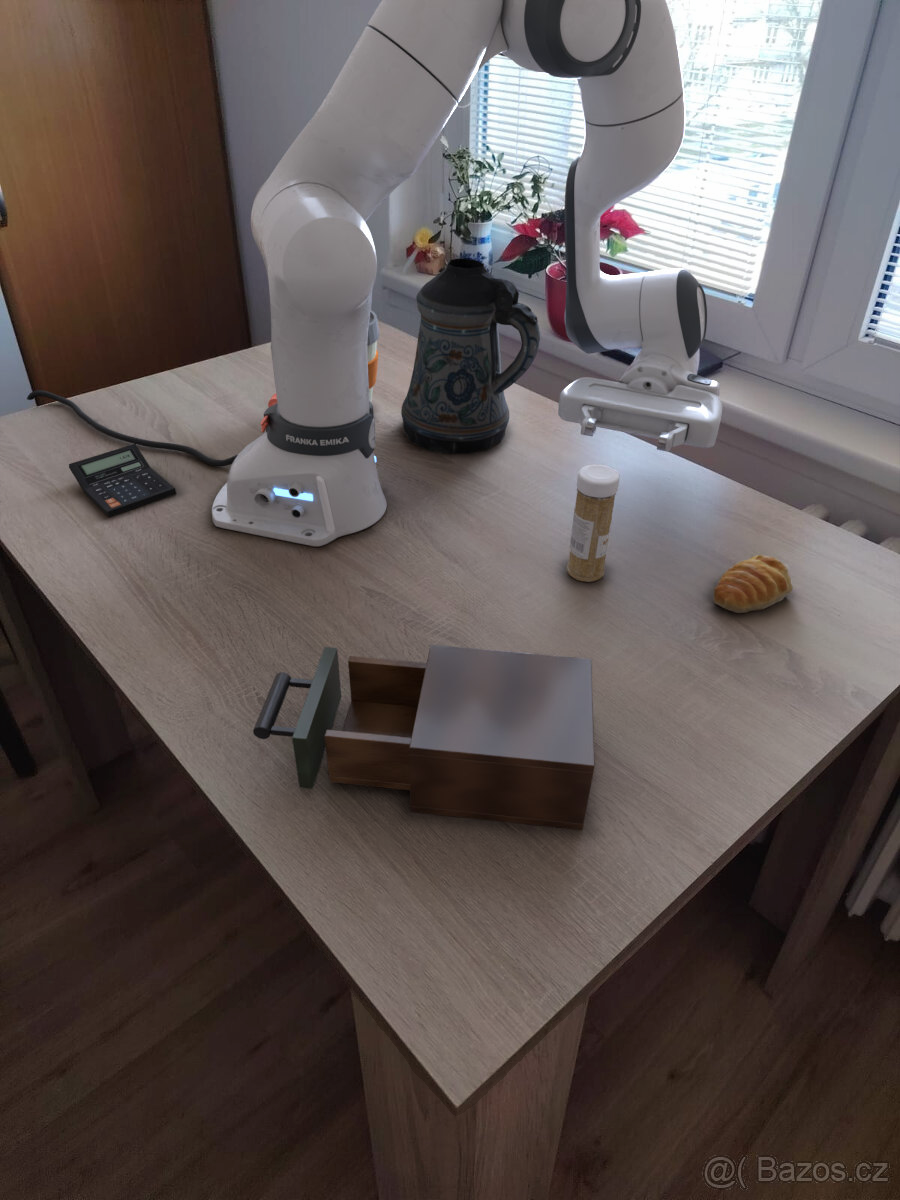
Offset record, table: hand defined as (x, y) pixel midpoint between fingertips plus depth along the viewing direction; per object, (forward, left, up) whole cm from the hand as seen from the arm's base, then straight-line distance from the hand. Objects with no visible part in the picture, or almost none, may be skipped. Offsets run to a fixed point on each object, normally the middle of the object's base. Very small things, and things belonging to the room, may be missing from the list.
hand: (624, 437), depth 99 cm
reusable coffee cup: (-41, +28, -12) cm, 51 cm away
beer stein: (-21, +24, -12) cm, 34 cm away
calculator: (-65, 0, -12) cm, 67 cm away
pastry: (+16, -13, -12) cm, 24 cm away
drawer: (-24, -42, -11) cm, 50 cm away
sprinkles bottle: (-3, -11, -12) cm, 17 cm away
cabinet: (-11, -42, -12) cm, 45 cm away
